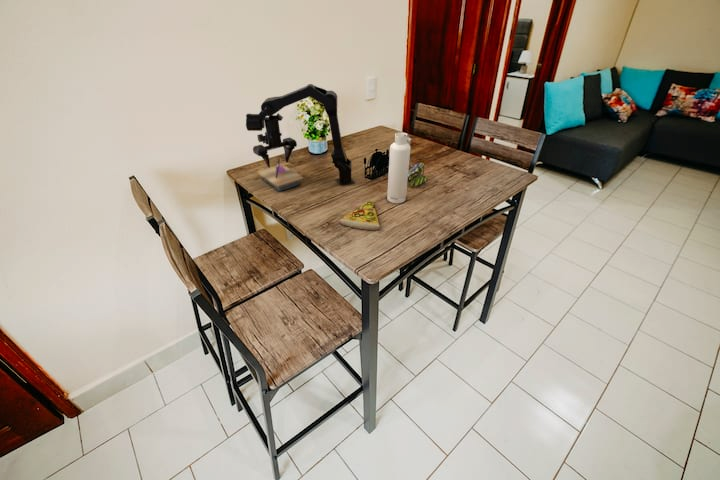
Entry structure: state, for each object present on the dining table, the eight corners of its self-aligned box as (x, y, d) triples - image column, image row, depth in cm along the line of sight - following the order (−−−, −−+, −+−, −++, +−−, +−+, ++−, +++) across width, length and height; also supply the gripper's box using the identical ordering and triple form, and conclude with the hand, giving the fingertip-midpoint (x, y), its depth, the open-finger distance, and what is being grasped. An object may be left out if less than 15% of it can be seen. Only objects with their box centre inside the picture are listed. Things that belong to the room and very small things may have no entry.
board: (303, 179, 153) (303, 177, 153) (278, 187, 147) (277, 185, 146) (281, 165, 166) (281, 163, 165) (257, 172, 159) (256, 170, 158)
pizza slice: (338, 226, 128) (338, 219, 126) (354, 200, 144) (354, 194, 142) (378, 232, 124) (378, 225, 123) (389, 205, 141) (390, 199, 139)
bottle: (383, 195, 147) (387, 132, 131) (400, 192, 150) (405, 129, 133) (391, 204, 141) (396, 139, 125) (409, 201, 143) (415, 136, 127)
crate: (298, 184, 156) (298, 178, 154) (279, 191, 150) (278, 185, 149) (281, 173, 165) (280, 167, 164) (263, 179, 160) (262, 173, 158)
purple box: (277, 156, 155) (277, 164, 148) (288, 159, 157) (288, 167, 150) (274, 169, 159) (273, 177, 151) (285, 172, 160) (285, 180, 153)
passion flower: (407, 190, 163) (407, 165, 163) (429, 189, 159) (430, 164, 159) (402, 186, 152) (402, 160, 152) (426, 185, 149) (426, 158, 149)
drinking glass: (411, 158, 181) (413, 140, 175) (400, 160, 179) (401, 141, 173) (405, 153, 186) (407, 136, 180) (394, 155, 184) (396, 137, 178)
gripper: (282, 121, 153) (286, 154, 163) (244, 130, 144) (251, 164, 153) (295, 127, 147) (299, 161, 156) (255, 137, 137) (262, 172, 146)
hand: (278, 164), depth 153 cm, fingers open, 9 cm apart
